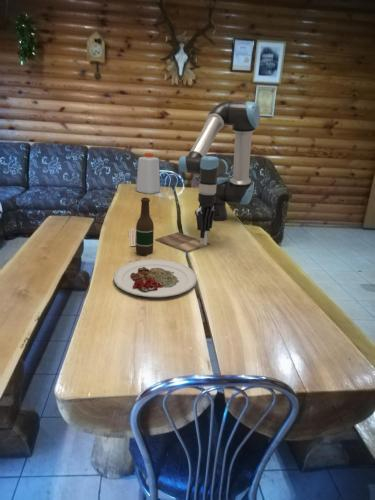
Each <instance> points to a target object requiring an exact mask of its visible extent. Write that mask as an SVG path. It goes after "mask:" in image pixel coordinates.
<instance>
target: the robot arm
mask: <svg viewBox="0 0 375 500" xmlns="http://www.w3.org/2000/svg"><path fill="white" fill-rule="evenodd" d="M260 121H261V110H260V106H259V104H258V103H257V102H254V101H249V100H225V101H222V102H220V103H218V104H217V105H215V106H214V107H213V108H212V109H210V111H209V113H208V114H207V115H206V119H205V124H204V125H203V127H202V130H201V131H200V132H199V135H198V136H197V138H196V140H195V142H194V144H193V146H192V147H191V149H190V151H189V153H188V154H187V155H181V156H180V157H179V160H178V162H177V163H178V170H179V171H180V172H181V173H186V174H194V175H199V180H198V181H199V182H198V183H199V185H198V192H199V193H198V197H197V201H198V203H199V206H198V209H197V210H196V209H195V210H194V214H195V218H196V219H195V220H196V228H197V229H196V230H197V231H199V232H200V234H199V235H200V236H199V238H200V244H202V245H207V242H208V234H209V232H210V231H211V229H212V226H213V222H214V221H219V222H220V221H225V220H227V219H228V211H227V206H226V203H230V204H231V203H232V204H238V205H248V204H249V203H250V202H251V200H252V199H253V195H254V191H255V185H254V184H252V179H250V177H249V176H250V175H249V174H250V163H251V152H252V151H251V150H252V136H253V133H254V132H255V131H256V128H258V127H259V126H260ZM224 126H231V127H232V131H233V133H234V149H233V152H234V153H233V169H232V170H233V171H232V173H233V174H232V177H231V178H230V180H229V178H228V177H223V176H224V175H225V174H227V172H228V170H229V166H228V162H227V161H226V160H225V159H221V158H218V157H217V156H211V155H207V154H208V152H209V151H210V149H211V146H212V144H213V143H214V140H215V138H216V136H217V135H218V133H219V131H220V130H222V129H223V128H224Z"/></svg>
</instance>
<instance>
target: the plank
mask: <svg viewBox="0 0 375 500" xmlns="http://www.w3.org/2000/svg"><path fill="white" fill-rule="evenodd" d="M210 245H211V242H209V241H207V245H202V244H200V239H199V238H196V239H195V240H192V241H189V242H186V243H183V244H180V245H177V246H174V248H173V249H176V250H179V251H181V252H184V253H186V254H189V253H192V252H194V251H198V250H200V249H203V248H205V247H207V246H210Z"/></svg>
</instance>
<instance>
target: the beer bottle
mask: <svg viewBox="0 0 375 500" xmlns="http://www.w3.org/2000/svg"><path fill="white" fill-rule="evenodd" d="M140 202H141V203H140V204H141V205H140V216H139V218H138V219H137V222H136V227H135V229H136V246H135V254H136V255H138V256H140V257H148V255H151V254H154V253H153V252H154V234H155V233H154V231H155V230H154V229H155V228H154V227H155V226H154V221H153V219H152V218H151V215H150V202H151V201H150V198H149V197H142V198H141V200H140Z"/></svg>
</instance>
